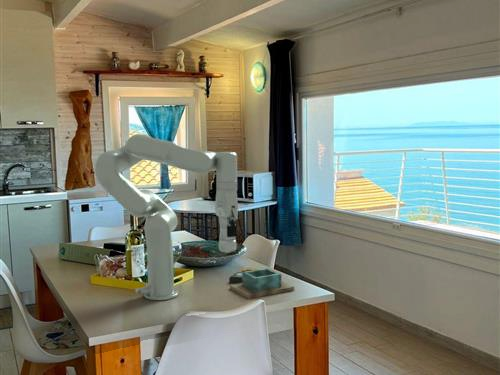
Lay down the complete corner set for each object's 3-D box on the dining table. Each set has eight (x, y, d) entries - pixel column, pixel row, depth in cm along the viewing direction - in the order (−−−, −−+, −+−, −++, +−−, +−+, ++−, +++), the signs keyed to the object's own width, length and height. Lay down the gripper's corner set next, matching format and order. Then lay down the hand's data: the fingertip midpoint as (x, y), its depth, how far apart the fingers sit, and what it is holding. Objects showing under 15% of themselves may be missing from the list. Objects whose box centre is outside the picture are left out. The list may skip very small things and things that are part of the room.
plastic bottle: (230, 255, 197) (230, 200, 194) (214, 252, 200) (214, 198, 198) (240, 251, 202) (239, 197, 200) (224, 249, 206) (224, 196, 203)
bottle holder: (248, 298, 200) (248, 281, 200) (230, 288, 214) (229, 272, 213) (294, 290, 210) (294, 273, 209) (274, 281, 223) (273, 265, 222)
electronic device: (262, 276, 233) (262, 268, 233) (247, 286, 219) (247, 277, 218) (244, 274, 236) (244, 266, 236) (228, 283, 222) (228, 275, 222)
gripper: (207, 184, 204) (208, 232, 206) (228, 188, 189) (228, 240, 191) (225, 183, 208) (226, 230, 210) (247, 187, 193) (247, 238, 195)
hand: (227, 234), depth 200 cm, fingers closed on plastic bottle, 5 cm apart
